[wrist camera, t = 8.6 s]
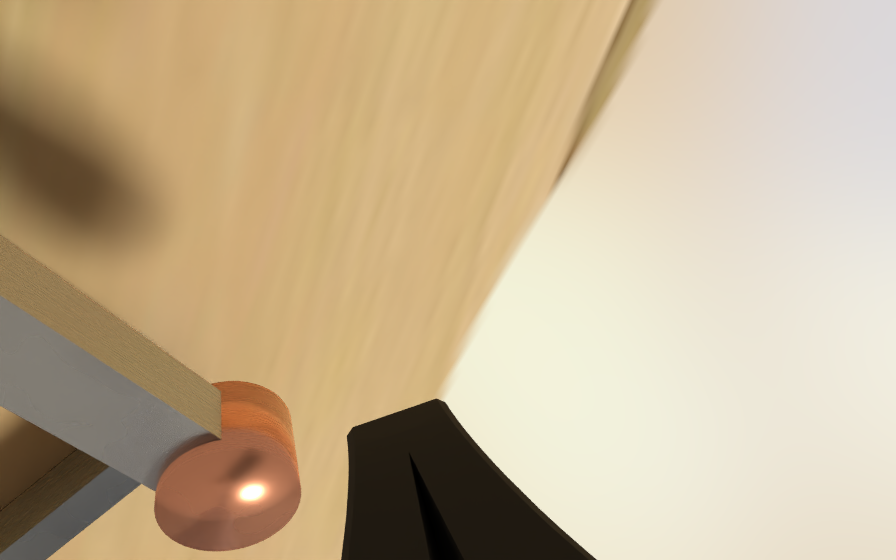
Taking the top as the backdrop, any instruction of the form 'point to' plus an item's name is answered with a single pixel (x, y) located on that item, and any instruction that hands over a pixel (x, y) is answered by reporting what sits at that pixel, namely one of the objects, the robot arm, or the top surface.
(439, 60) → the top surface
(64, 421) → the press arm
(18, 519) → the tray
